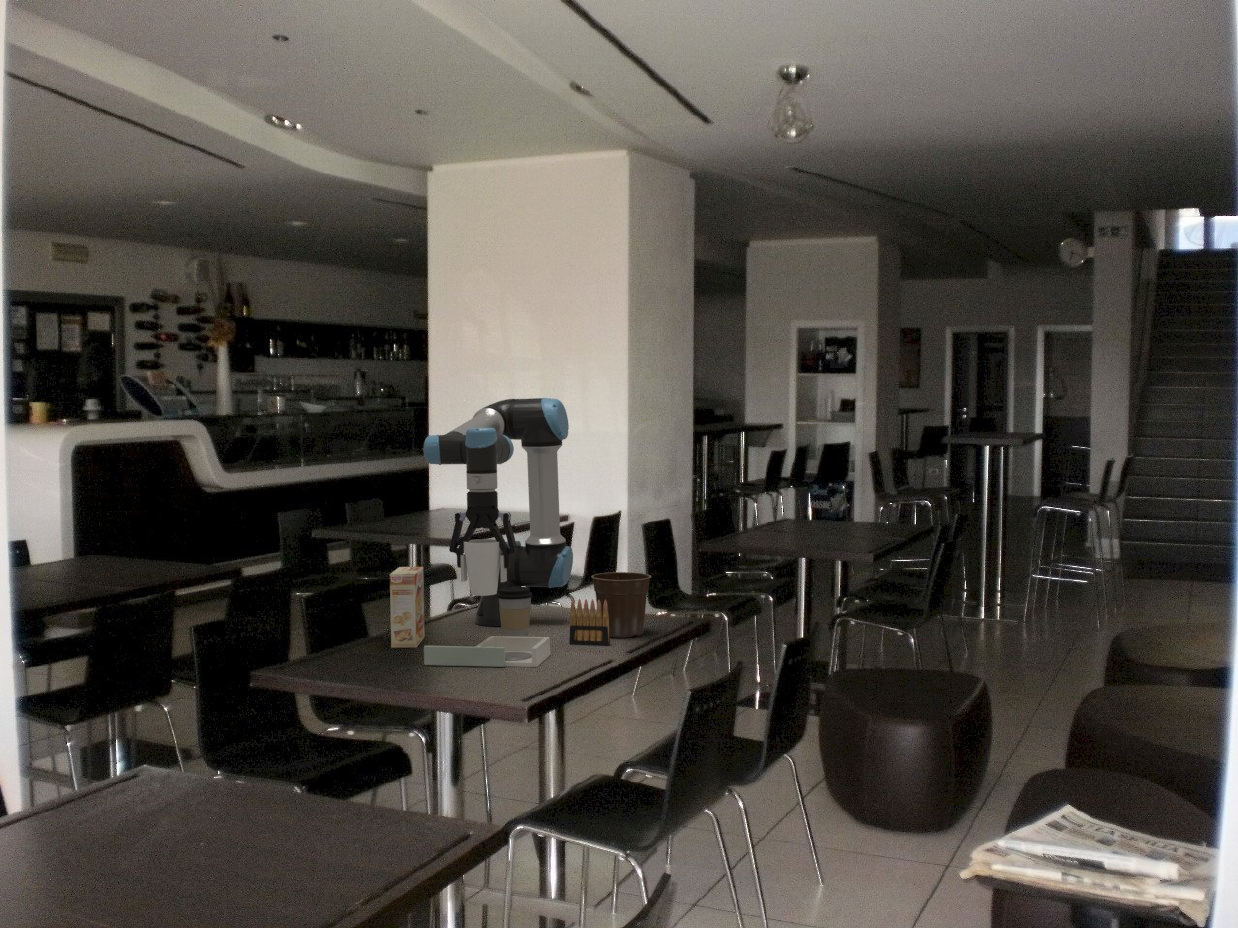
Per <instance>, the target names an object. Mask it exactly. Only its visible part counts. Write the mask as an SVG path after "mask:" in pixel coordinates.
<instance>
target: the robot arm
mask: <svg viewBox="0 0 1238 928" xmlns="http://www.w3.org/2000/svg"><path fill="white" fill-rule="evenodd" d="M569 426H570V425H569V418H568V413H567V410H566V408H565V405H564V404H563V402H562V401H561V400H560V399H557V398H548V397H539V398H537V397H536V398H535V397H534V398H508V399H502V400H499V401H496V402H494V403H490V404H488V405H486V406H484V407H482V408H481V409H479V410H477V411H476V412H475V413H474V415H472V418H471V419H469V420H467V421H466V422H464V423H462V424H461V425H459V426H457V427H455V428H454V429H452V430H450V431H449V432H447V433H445V434H435V435H428V436H426V438H425V440H424V443H423V456H424V459H425V461H426V462H427V464H430V465H439V466H441V465H465V467H466V489H467V493H466V507H467V508H466V511H465V512H461V511H459V512H456V513H454V527H453V532H452V536H451V539H450V544H449V545H450V546H449V549H448V550H449V552H450V553H453V554H455V555H456V566H457V569H458V568H460V582H462V583H464V582H466V581H468V570H467V563H466V557H465V552H464V542H469V541H470V540H472V539H471V538H472V536H473V535H474V534H475V531H476V530H477V529H486V530H487V529H489V531H490V532H491V534H492V536H493V537H494V539H496V541H497V542H499V547H500V549H501V556H500V568H499V578H498V587H497V594H498V593H499V589H501V588H506V587H526V588H530V587H531V588H532V587H535V588H537V587H538V588H549V589H551V588H563V587H564V586H566V584H568V582H569V580H570V578H571V574H572V570H573V564H574V552H573V548H572V546H571V547H570V546H569V545H567V543H566V542H567V541H566V538H565V537H564V536H563V535H562V534H561V525H560V524H561V523H560V522H561V521H560V520H561V518H560V517H561V516H560V496H559V495H560V493H559V491H560V490H559V467H558V466H559V465H558V451H559V449H561V448H562V446H563V441H564V440H566V439H567V438H568V436H569V429H570V428H569ZM512 440H514V441H516V440H517V441H518V440H520V442H521V448H522V449H523V450H524V451H525V452H526V457H527V458H526V460H527V461H526V462H527V483H528V508H529V509H528V511H529V513H528V514H529V533H530V535H529V537H527V539H526V540H525V541H524V546H523V545H522V543H521V541H520V540H516V537H515V534H514V530H513V526H512V523H511V522H512V521H511V519H512V518H511V517H512V515H511V512H500V510H499V505H498V503H499V501H498V500H499V499H498V498H499V497H498V492H497V489H498V465H503V464H505V463H507V462H508V461H509V460H510V459H511V458H512V456H513V455H514V449H515V448H514V447H515V446H514V444H513V441H512ZM468 490H469V491H468ZM466 519H467V520H468V522H470V523H469V524H468V526H467V528H466V531H465V532H464V536H463V537H462V540H461V541H460V537H461V533H462V529H463V525H464V521H465V520H466ZM499 519H500V521H501V522H502V526H503V528H504V529H503V530H504V534H505V537H506V540H507V541H506V540H505V538H504V536H503V535H502V532H501V530H500V529H499V525H498V523H497V521H498V520H499ZM459 542H460V544H459ZM497 594H495V595H488V596H480V600H479V603H478V606H477V610H476V613H475V624H477V625H480V626H486V627H501V618H500V610H499V607H500V605H499V598H497Z"/></svg>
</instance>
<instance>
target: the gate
mask: <svg viewBox="0 0 1238 928" xmlns="http://www.w3.org/2000/svg"><path fill="white" fill-rule="evenodd" d="M423 663H424V666H449V667H450V666H454V667H491V668H493V667H496V668H498V667H500V668H501V667H502V668H504V667H506V666H505V647H476V646H468V645H467V646H463V645H460V646H459V645H458V646H457V645H424V646H423Z"/></svg>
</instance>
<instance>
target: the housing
mask: <svg viewBox="0 0 1238 928" xmlns="http://www.w3.org/2000/svg"><path fill="white" fill-rule="evenodd" d="M475 647H505V666H504V667H516V668H517V667H521V668H522V667H523V668H525V667H527V668H537V667H538V666H540V665H541V664H542V663H543V662H544V661H545V660H546V659H548V658H549V656H551V637H550V636H528V637H510V636H503V635H502V636H500V635H498V636H497V635H494V636H493V635H491V636H489V637H487V638H485V639H484V640H483V641H481V642H480V643H479V644H477V645H475Z"/></svg>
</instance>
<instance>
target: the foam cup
mask: <svg viewBox="0 0 1238 928" xmlns="http://www.w3.org/2000/svg"><path fill="white" fill-rule="evenodd" d="M464 554H465V557H466V563H467V578H468V582H469V584H468V585H469V588H470V589H469V590H470V593H471V594H470V595H472V596H476V597H477V596H480V597H481V596H488V595H495V594H497V587H498V578H499V568H500V556H501V549H500V547H499V542H497V541H496V539H495V538H494V539H493V538H491V539H490V538H483V539H482V538H480V539H478V538H477V539H470V541H469V542H464Z"/></svg>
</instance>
